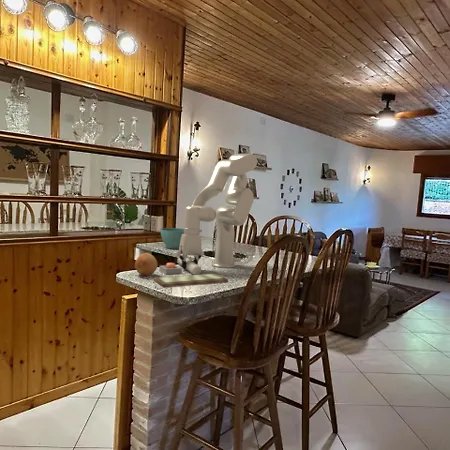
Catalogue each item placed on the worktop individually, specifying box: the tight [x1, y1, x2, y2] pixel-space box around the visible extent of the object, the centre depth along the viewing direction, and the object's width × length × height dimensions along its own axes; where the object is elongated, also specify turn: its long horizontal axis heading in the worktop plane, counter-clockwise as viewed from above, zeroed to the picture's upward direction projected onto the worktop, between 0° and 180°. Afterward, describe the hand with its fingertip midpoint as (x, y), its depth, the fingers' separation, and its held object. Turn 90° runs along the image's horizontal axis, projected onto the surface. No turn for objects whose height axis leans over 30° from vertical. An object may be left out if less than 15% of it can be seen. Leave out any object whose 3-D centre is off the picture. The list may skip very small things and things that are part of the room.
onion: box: [134, 252, 158, 276], centre depth 168 cm, size 10×10×10 cm
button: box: [166, 262, 176, 268], centre depth 178 cm, size 4×4×3 cm
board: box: [153, 273, 229, 288], centre depth 163 cm, size 30×11×1 cm, turn 121°
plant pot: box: [160, 227, 184, 250], centre depth 248 cm, size 18×18×12 cm
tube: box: [176, 254, 202, 275], centre depth 185 cm, size 5×5×25 cm
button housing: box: [159, 264, 183, 275], centre depth 178 cm, size 8×8×2 cm
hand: (189, 268), depth 185 cm, fingers closed on tube, 5 cm apart
